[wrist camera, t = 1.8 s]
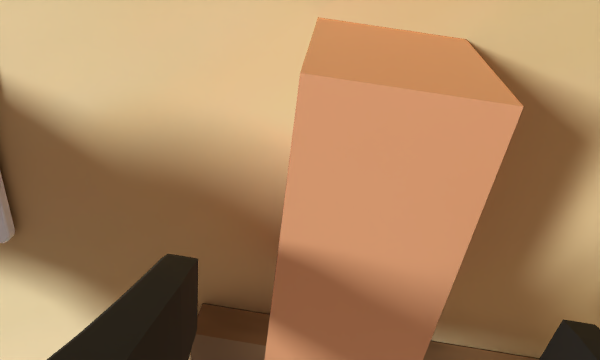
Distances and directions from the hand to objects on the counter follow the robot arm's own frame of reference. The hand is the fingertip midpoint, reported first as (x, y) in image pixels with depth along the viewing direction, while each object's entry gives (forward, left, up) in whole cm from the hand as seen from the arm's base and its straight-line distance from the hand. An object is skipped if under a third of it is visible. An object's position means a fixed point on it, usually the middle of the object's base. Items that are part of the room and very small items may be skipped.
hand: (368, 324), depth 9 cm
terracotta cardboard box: (0, 0, -6) cm, 6 cm away
